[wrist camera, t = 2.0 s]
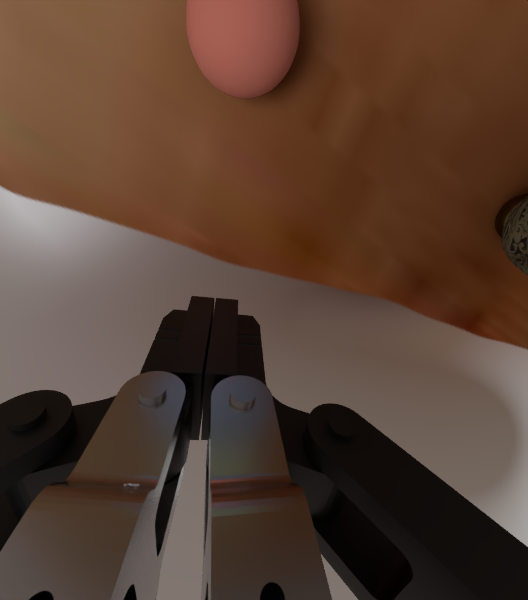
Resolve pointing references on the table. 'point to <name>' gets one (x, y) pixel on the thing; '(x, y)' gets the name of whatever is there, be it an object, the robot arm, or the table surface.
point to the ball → (243, 42)
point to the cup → (515, 230)
